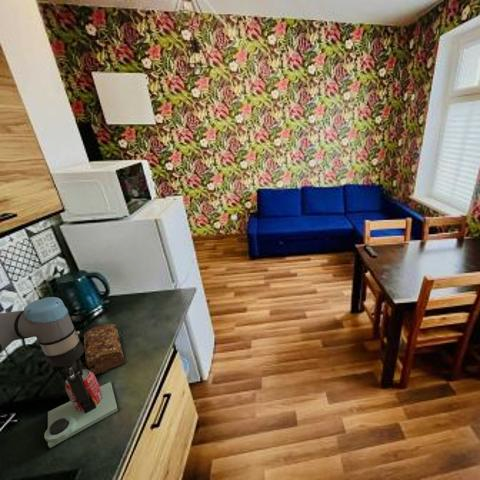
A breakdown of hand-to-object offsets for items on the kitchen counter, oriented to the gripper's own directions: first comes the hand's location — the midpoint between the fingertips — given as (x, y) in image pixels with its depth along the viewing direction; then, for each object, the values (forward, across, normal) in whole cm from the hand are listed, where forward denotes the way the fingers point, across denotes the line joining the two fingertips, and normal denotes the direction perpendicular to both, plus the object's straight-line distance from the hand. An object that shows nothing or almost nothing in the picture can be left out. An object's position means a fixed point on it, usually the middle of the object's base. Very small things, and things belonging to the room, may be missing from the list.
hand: (89, 401), depth 86 cm
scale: (+2, -1, +2) cm, 3 cm away
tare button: (0, -5, +7) cm, 9 cm away
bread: (+3, +22, -7) cm, 23 cm away
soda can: (+1, 0, 0) cm, 1 cm away
